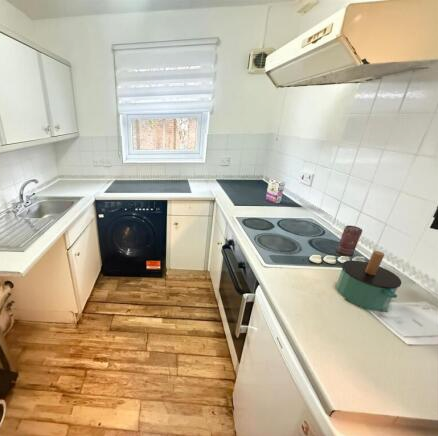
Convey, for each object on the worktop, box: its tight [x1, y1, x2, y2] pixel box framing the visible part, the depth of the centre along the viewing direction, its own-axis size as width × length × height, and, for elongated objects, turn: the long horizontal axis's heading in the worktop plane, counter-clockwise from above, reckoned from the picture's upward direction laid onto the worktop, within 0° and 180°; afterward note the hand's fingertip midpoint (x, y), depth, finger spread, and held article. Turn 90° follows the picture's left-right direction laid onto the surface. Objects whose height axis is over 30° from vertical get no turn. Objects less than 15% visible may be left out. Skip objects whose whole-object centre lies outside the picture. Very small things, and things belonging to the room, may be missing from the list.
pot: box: [335, 259, 398, 311], centre depth 85 cm, size 15×20×10 cm
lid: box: [341, 250, 402, 289], centre depth 81 cm, size 16×16×9 cm
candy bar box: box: [264, 178, 286, 205], centre depth 181 cm, size 11×5×16 cm, turn 15°
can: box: [336, 225, 364, 258], centre depth 110 cm, size 6×6×14 cm
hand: (437, 223), depth 76 cm, fingers open, 13 cm apart
